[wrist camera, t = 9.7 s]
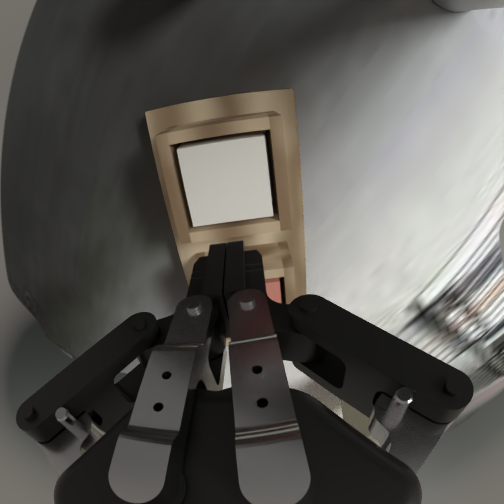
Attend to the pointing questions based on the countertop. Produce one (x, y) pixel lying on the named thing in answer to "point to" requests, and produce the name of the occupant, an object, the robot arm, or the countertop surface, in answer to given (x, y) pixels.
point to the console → (280, 174)
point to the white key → (226, 178)
